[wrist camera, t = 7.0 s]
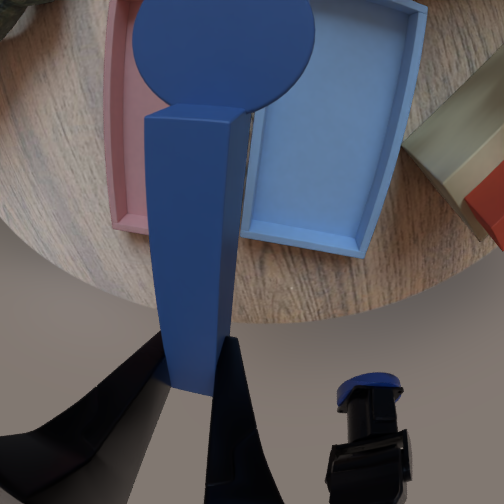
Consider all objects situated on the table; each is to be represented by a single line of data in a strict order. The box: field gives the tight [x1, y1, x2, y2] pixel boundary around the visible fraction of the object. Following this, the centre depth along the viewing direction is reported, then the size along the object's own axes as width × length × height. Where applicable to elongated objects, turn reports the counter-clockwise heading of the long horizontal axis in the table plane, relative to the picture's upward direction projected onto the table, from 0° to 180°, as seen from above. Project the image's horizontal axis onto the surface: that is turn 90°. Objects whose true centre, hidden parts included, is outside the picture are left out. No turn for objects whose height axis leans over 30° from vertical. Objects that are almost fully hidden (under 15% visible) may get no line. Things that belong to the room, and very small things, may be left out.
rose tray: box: [103, 0, 170, 235], centre depth 15 cm, size 15×8×2 cm, turn 173°
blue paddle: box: [132, 0, 316, 397], centre depth 7 cm, size 12×4×2 cm, turn 174°
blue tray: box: [240, 0, 428, 259], centre depth 14 cm, size 15×8×2 cm, turn 173°
